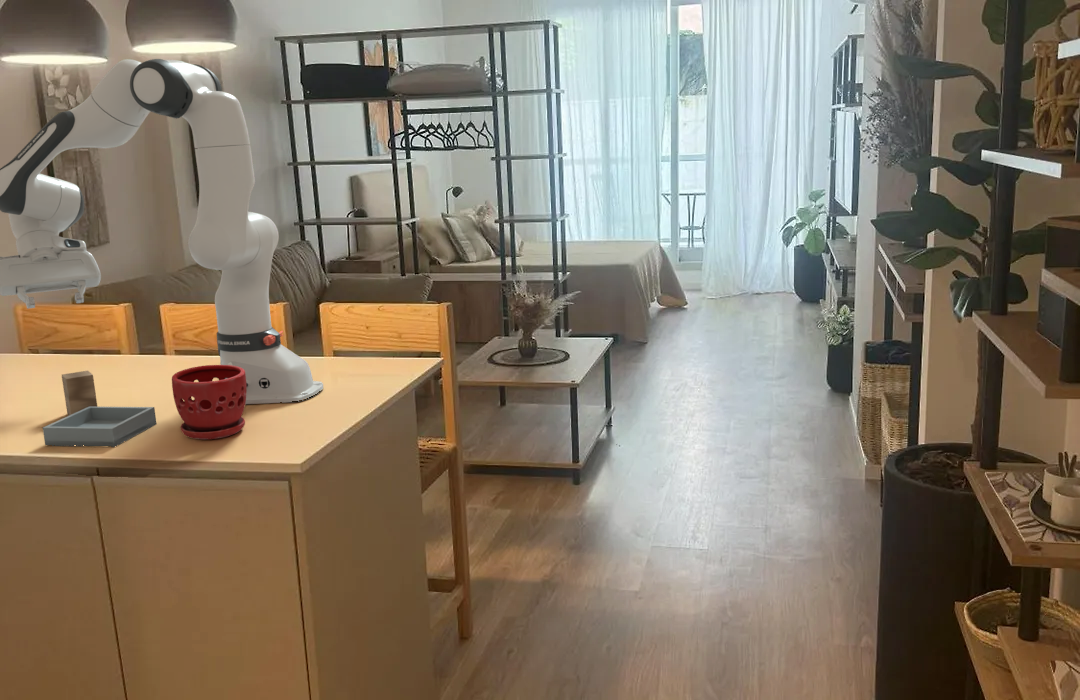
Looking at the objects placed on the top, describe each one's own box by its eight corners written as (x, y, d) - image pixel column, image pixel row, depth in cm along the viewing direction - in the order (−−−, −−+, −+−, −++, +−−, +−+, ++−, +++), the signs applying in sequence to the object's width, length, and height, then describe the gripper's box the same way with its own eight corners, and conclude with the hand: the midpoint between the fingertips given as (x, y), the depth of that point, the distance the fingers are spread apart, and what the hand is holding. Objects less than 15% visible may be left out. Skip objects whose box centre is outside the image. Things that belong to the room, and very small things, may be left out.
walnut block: (93, 409, 198) (87, 370, 196) (98, 414, 194) (92, 374, 192) (67, 414, 195) (61, 374, 193) (72, 419, 191) (66, 379, 189)
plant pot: (164, 443, 173) (156, 380, 170) (201, 422, 186) (195, 363, 183) (230, 445, 171) (223, 381, 168) (263, 423, 183) (257, 364, 181)
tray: (156, 424, 185) (154, 407, 185) (114, 447, 172) (112, 428, 171) (91, 423, 187) (89, 406, 187) (45, 445, 174) (42, 427, 173)
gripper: (-14, 248, 197) (0, 300, 191) (92, 240, 208) (107, 289, 203) (-13, 267, 201) (0, 319, 196) (90, 258, 213) (105, 307, 207)
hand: (56, 303), depth 199 cm, fingers open, 8 cm apart
